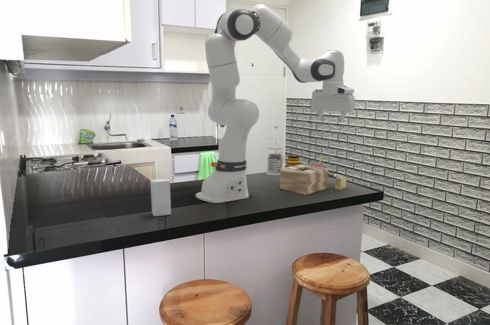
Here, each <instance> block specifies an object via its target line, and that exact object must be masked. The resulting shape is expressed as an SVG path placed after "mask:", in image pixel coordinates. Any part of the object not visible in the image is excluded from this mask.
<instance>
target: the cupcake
mask: <svg viewBox="0 0 490 325" xmlns="http://www.w3.org/2000/svg"><path fill="white" fill-rule="evenodd" d="M322 155H323V154H322V153H321V155H320V157H319V162H315V163H312V164H310V166H316V167H321V168H327V167H326V166H325V165H324V164H323V163H321V161H322V157H323V156H322Z"/></svg>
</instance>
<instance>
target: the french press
mask: <svg viewBox="0 0 490 325" xmlns="http://www.w3.org/2000/svg"><path fill="white" fill-rule="evenodd" d="M273 128H274V129H278V128H279V126H278V125H275V126H274V127H273ZM267 149H269V150H274V153H270V154H268V157H267V170H266V172H265V175H268V176H280V173H281V168H283V163H284V161H283V160H284V157H283V155H284V153H283V152H282V151H279V150H283V149H284V147H283V146H282V145H280V144H277V140H275V144H270V145H269V146H268V147H267ZM276 150H278V151H277V152H276Z"/></svg>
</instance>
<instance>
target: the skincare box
mask: <svg viewBox="0 0 490 325" xmlns="http://www.w3.org/2000/svg"><path fill="white" fill-rule="evenodd" d="M149 182H150V198H151V199H150V200H151V214H152V216H153V217H159V216H160V217H161V216H169V215H170V216H171V215H172V207H171V206H172V205H171V204H172V203H171V181H170V179H169V178H157V179H150V181H149Z"/></svg>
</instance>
